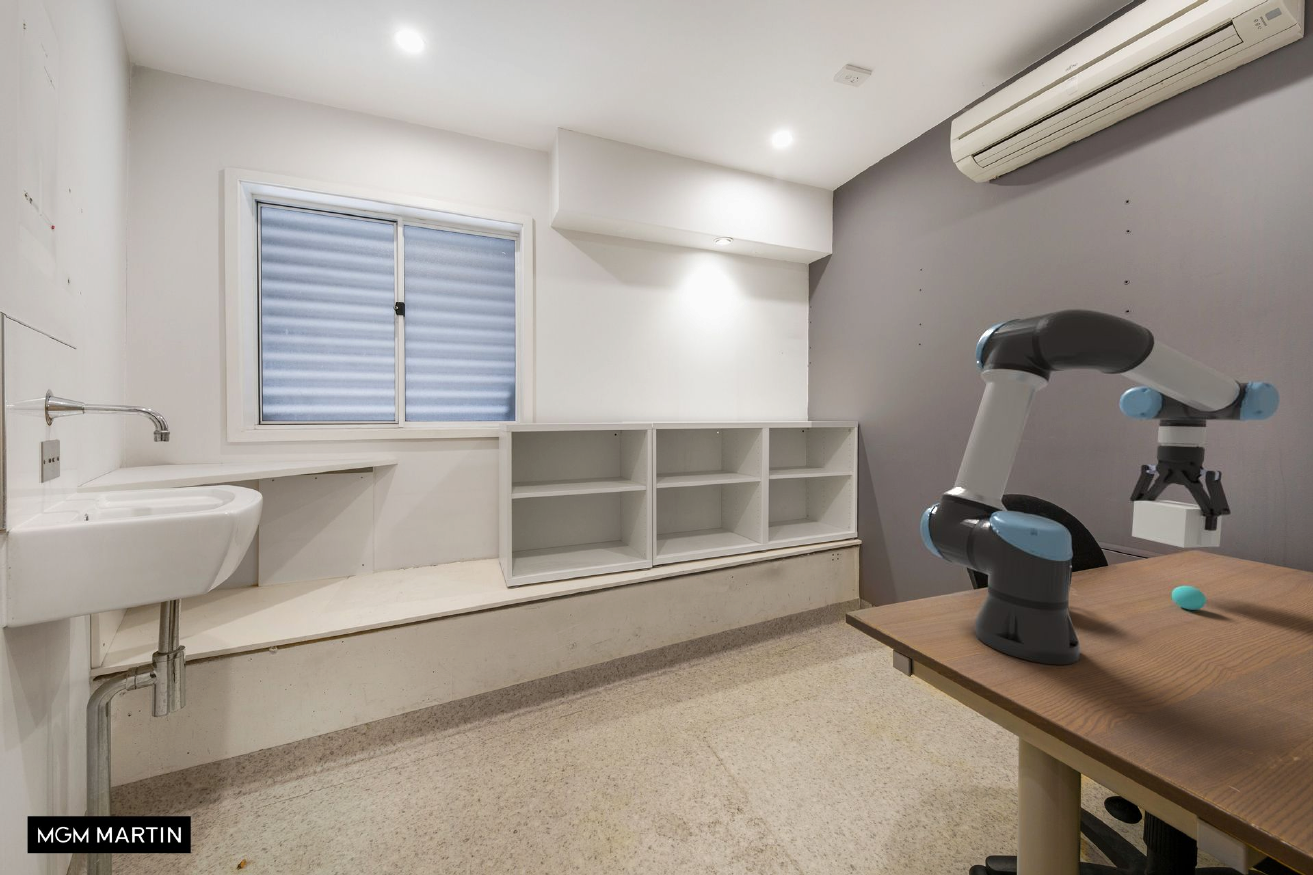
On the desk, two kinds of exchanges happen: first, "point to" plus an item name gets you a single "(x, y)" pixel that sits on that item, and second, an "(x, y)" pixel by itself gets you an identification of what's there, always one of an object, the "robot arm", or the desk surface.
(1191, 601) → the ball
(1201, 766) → the desk surface
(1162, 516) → the white rectangular brick
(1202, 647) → the desk surface
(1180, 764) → the desk surface
